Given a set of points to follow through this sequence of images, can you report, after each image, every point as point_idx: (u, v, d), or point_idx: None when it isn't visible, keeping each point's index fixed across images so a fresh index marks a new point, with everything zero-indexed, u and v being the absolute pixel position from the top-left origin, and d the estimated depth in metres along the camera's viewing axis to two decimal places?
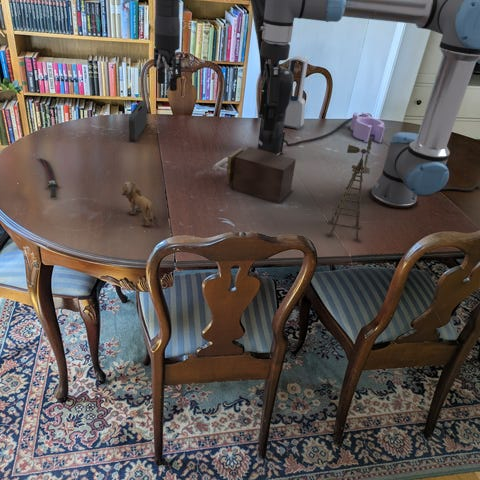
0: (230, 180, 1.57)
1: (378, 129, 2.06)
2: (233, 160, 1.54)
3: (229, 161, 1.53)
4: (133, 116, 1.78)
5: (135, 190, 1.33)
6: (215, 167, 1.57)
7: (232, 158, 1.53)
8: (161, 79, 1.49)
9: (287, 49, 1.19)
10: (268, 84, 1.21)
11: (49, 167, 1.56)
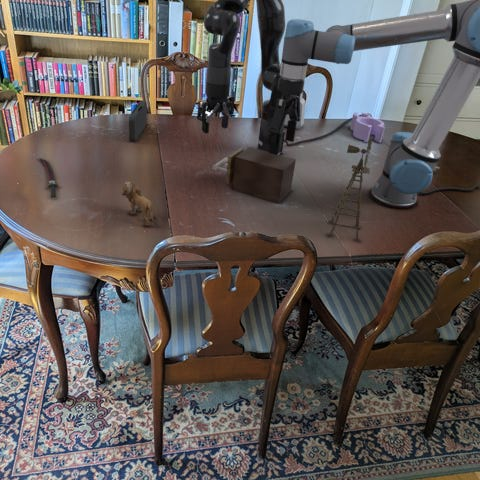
0: (230, 180, 1.57)
1: (378, 129, 2.06)
2: (233, 160, 1.54)
3: (229, 161, 1.53)
4: (133, 116, 1.78)
5: (135, 190, 1.33)
6: (215, 167, 1.57)
7: (232, 158, 1.53)
8: None
9: (297, 85, 1.34)
10: None
11: (49, 167, 1.56)
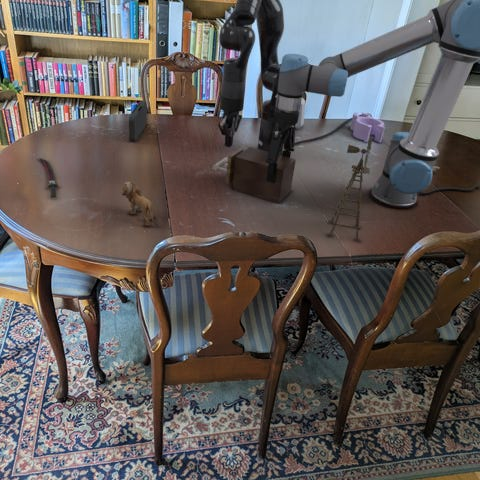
0: (230, 180, 1.57)
1: (378, 129, 2.06)
2: (233, 160, 1.54)
3: (229, 161, 1.53)
4: (133, 116, 1.78)
5: (135, 190, 1.33)
6: (215, 167, 1.57)
7: (232, 158, 1.53)
8: None
9: (293, 116, 1.39)
10: None
11: (49, 167, 1.56)
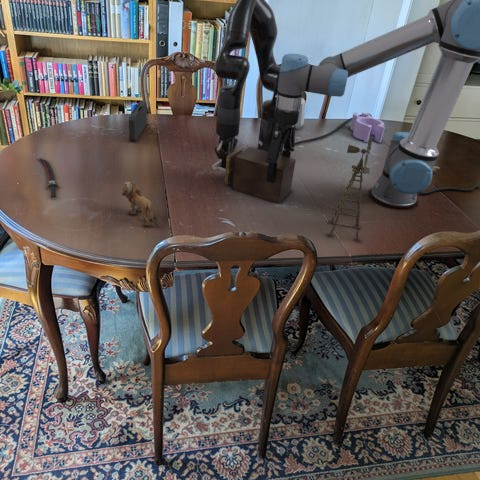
0: (229, 180, 1.58)
1: (378, 129, 2.06)
2: (232, 160, 1.55)
3: (228, 161, 1.53)
4: (133, 116, 1.78)
5: (135, 190, 1.33)
6: (214, 167, 1.57)
7: (231, 158, 1.53)
8: None
9: (292, 116, 1.39)
10: None
11: (49, 167, 1.56)
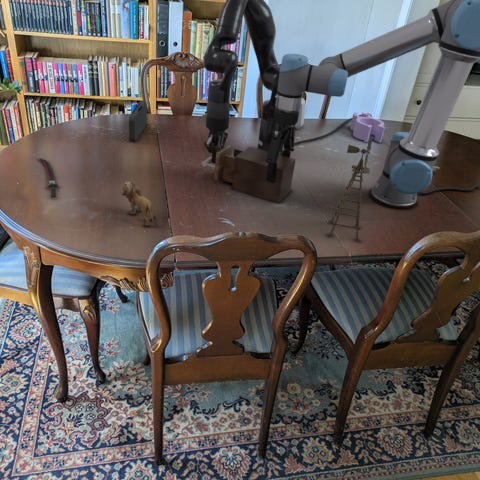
0: (219, 177, 1.59)
1: (378, 129, 2.06)
2: (221, 157, 1.56)
3: (217, 158, 1.54)
4: (133, 116, 1.78)
5: (135, 190, 1.33)
6: (204, 164, 1.59)
7: (220, 155, 1.55)
8: None
9: (292, 116, 1.39)
10: None
11: (49, 167, 1.56)
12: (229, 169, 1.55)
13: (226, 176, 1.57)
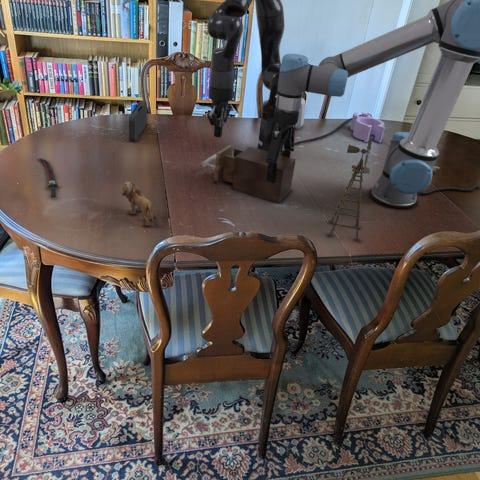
0: (219, 177, 1.59)
1: (378, 129, 2.06)
2: (222, 157, 1.56)
3: (217, 158, 1.54)
4: (133, 116, 1.78)
5: (135, 190, 1.33)
6: (204, 164, 1.59)
7: (220, 155, 1.55)
8: None
9: (292, 116, 1.39)
10: None
11: (49, 167, 1.56)
12: (229, 169, 1.55)
13: (226, 176, 1.57)
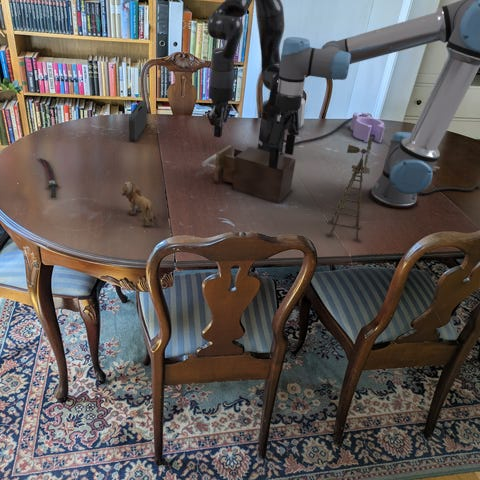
0: (219, 177, 1.59)
1: (378, 129, 2.06)
2: (222, 157, 1.56)
3: (218, 158, 1.54)
4: (133, 116, 1.78)
5: (135, 190, 1.33)
6: (204, 164, 1.59)
7: (221, 155, 1.55)
8: None
9: (295, 101, 1.36)
10: None
11: (49, 167, 1.56)
12: (229, 169, 1.55)
13: (226, 176, 1.57)
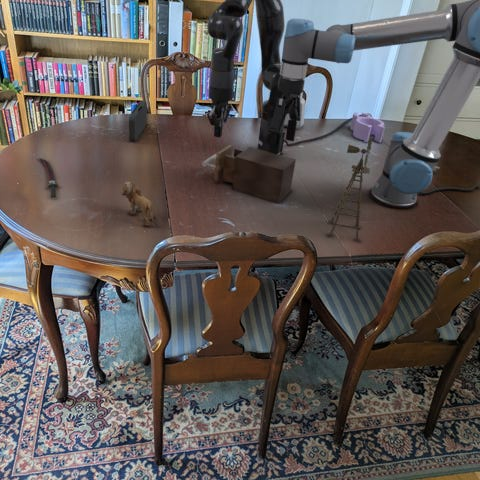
0: (219, 177, 1.59)
1: (378, 129, 2.06)
2: (222, 157, 1.56)
3: (218, 158, 1.54)
4: (133, 116, 1.78)
5: (135, 190, 1.33)
6: (204, 164, 1.59)
7: (221, 155, 1.55)
8: None
9: (297, 85, 1.34)
10: None
11: (49, 167, 1.56)
12: (229, 169, 1.55)
13: (226, 176, 1.57)
